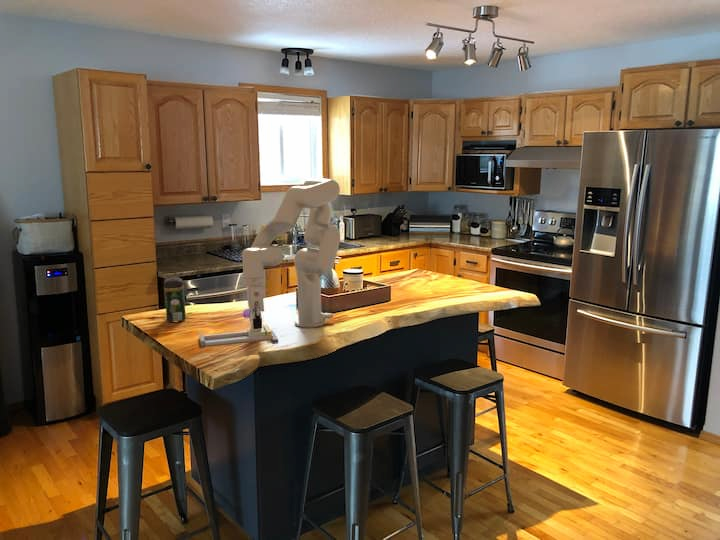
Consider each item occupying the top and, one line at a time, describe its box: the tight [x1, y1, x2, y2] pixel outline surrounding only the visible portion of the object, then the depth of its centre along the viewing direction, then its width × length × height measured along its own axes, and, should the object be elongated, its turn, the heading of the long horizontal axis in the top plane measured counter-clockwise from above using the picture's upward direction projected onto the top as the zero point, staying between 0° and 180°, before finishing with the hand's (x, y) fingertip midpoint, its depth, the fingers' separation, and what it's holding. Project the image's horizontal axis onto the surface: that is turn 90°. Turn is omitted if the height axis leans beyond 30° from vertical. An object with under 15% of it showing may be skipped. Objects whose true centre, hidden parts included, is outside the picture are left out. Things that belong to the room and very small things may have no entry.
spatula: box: [243, 308, 250, 319], centre depth 252 cm, size 24×7×2 cm, turn 13°
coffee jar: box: [163, 276, 187, 322], centre depth 252 cm, size 10×8×19 cm
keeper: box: [246, 312, 266, 337], centre depth 224 cm, size 6×6×9 cm
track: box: [198, 324, 279, 348], centre depth 223 cm, size 28×12×4 cm, turn 108°
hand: (255, 325), depth 224 cm, fingers open, 9 cm apart
